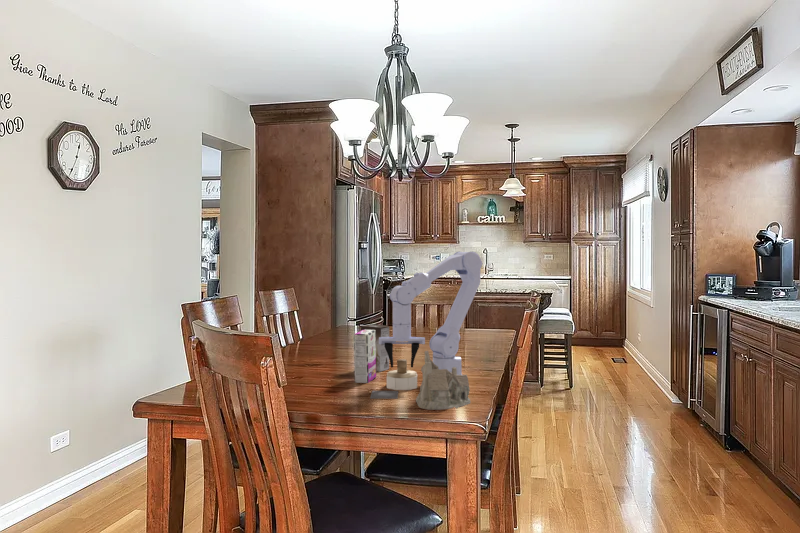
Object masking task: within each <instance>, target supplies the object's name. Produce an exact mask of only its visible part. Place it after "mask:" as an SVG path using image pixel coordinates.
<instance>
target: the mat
mask: <svg viewBox="0 0 800 533" xmlns="http://www.w3.org/2000/svg"><path fill="white" fill-rule="evenodd" d="M398 398H399V390H371V395H370V397H369V399H370V400H373V399H376V400H377V399H381V400H382V399H384V400H385V399H387V400H389V399H390V400H392V399H393V400H395V399H398Z"/></svg>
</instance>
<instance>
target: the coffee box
mask: <svg viewBox="0 0 800 533" xmlns="http://www.w3.org/2000/svg"><path fill="white" fill-rule="evenodd" d="M362 330H375V336H376V372H378V373H379V372H380V373H381V372H383V371H387V370H389V369H390V359H389V356H388V354H387V351H386V349H385V347H384V346H385V344H379V337H390V326H389V325H383V324H372V323H371V324H364V325H360V331H362Z"/></svg>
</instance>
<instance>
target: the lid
mask: <svg viewBox="0 0 800 533" xmlns="http://www.w3.org/2000/svg"><path fill="white" fill-rule="evenodd" d="M396 363H397V364H396V369H394V370H390V371H387V373H386V377H387V376H389V377H392V378H412V377H415V376H417V377H418V373H417V371H415V370H411V369H410V370H409V369H408V365H407V363H408V361H407V359H405V358H401V359H400V358H399V359H397V360H396Z"/></svg>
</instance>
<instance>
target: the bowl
mask: <svg viewBox="0 0 800 533" xmlns="http://www.w3.org/2000/svg"><path fill="white" fill-rule="evenodd" d="M386 389H389V390H392V391H411V390H414V389H418V375H417V376H415V377H412V378H392V377H389V376H387V375H386Z"/></svg>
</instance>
